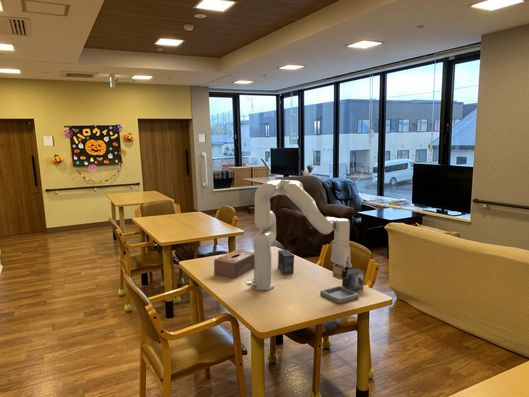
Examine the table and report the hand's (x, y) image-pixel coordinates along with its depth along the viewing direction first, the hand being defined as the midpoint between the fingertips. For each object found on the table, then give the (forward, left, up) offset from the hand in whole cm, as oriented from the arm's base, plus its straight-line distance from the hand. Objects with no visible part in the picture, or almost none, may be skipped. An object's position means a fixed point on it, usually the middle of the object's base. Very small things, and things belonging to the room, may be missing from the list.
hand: (340, 275), depth 201 cm
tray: (0, 0, -11) cm, 11 cm away
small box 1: (0, +48, -12) cm, 50 cm away
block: (0, 0, -1) cm, 1 cm away
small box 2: (+14, +4, -12) cm, 19 cm away
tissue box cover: (-27, +64, -12) cm, 71 cm away
